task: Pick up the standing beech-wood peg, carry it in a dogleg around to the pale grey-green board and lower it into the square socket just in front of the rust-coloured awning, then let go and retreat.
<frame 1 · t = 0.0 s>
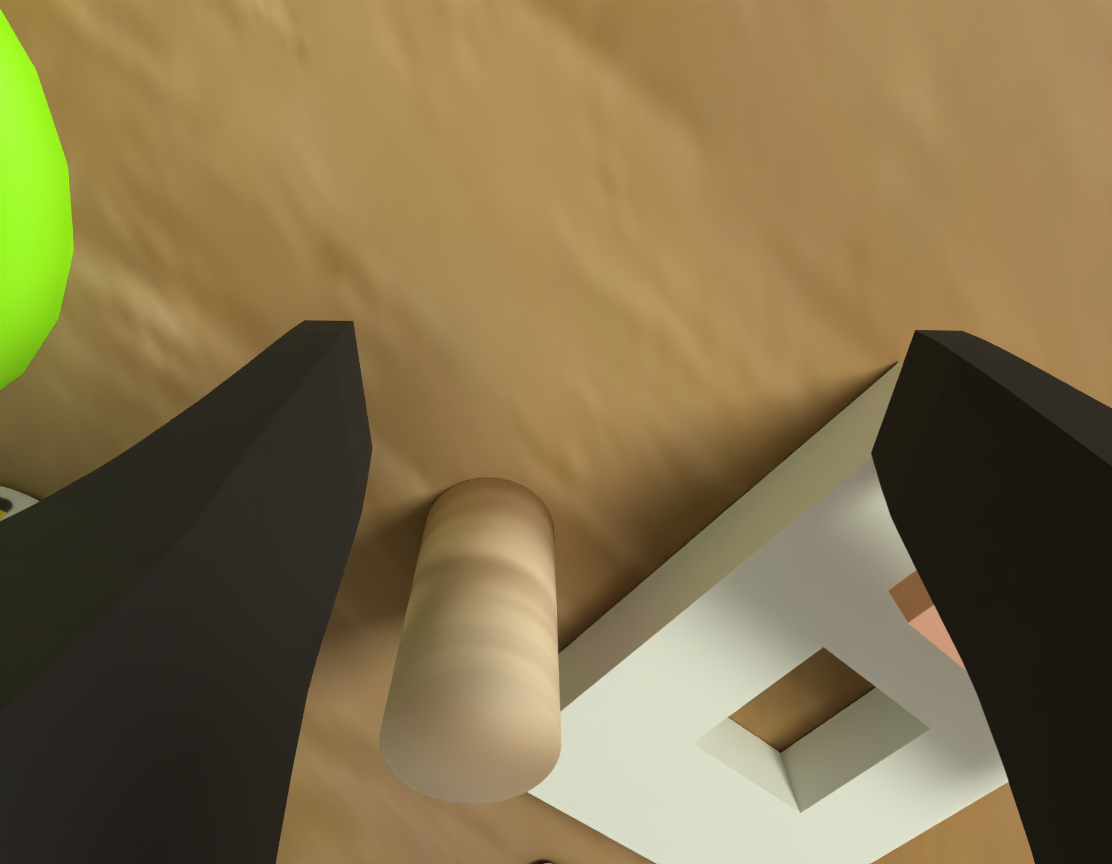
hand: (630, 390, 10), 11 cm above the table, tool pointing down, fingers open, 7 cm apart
supplement bottle: (12, 540, 24), on the table
socket board: (810, 662, 27), on the table
awning: (1008, 518, 24), resting on socket board
peg: (489, 532, 24), on the table
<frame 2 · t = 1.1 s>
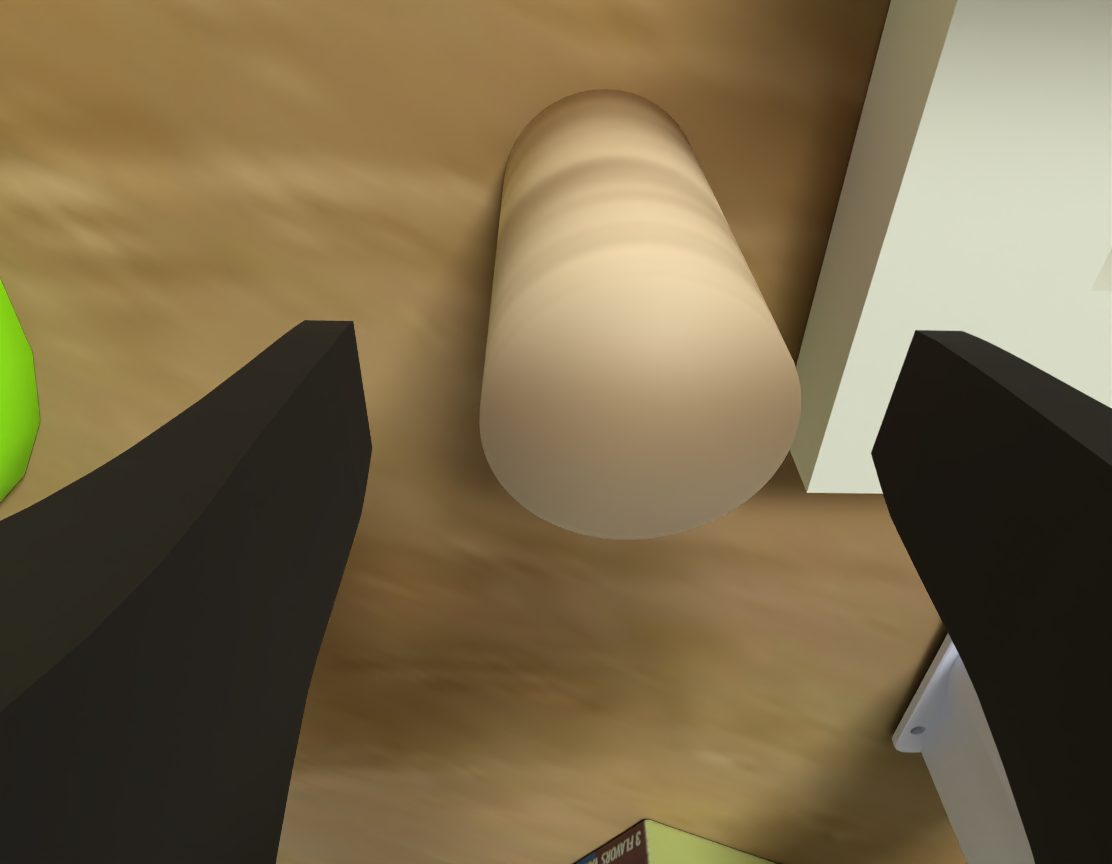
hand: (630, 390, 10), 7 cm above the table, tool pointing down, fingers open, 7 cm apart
peg: (600, 192, 16), on the table
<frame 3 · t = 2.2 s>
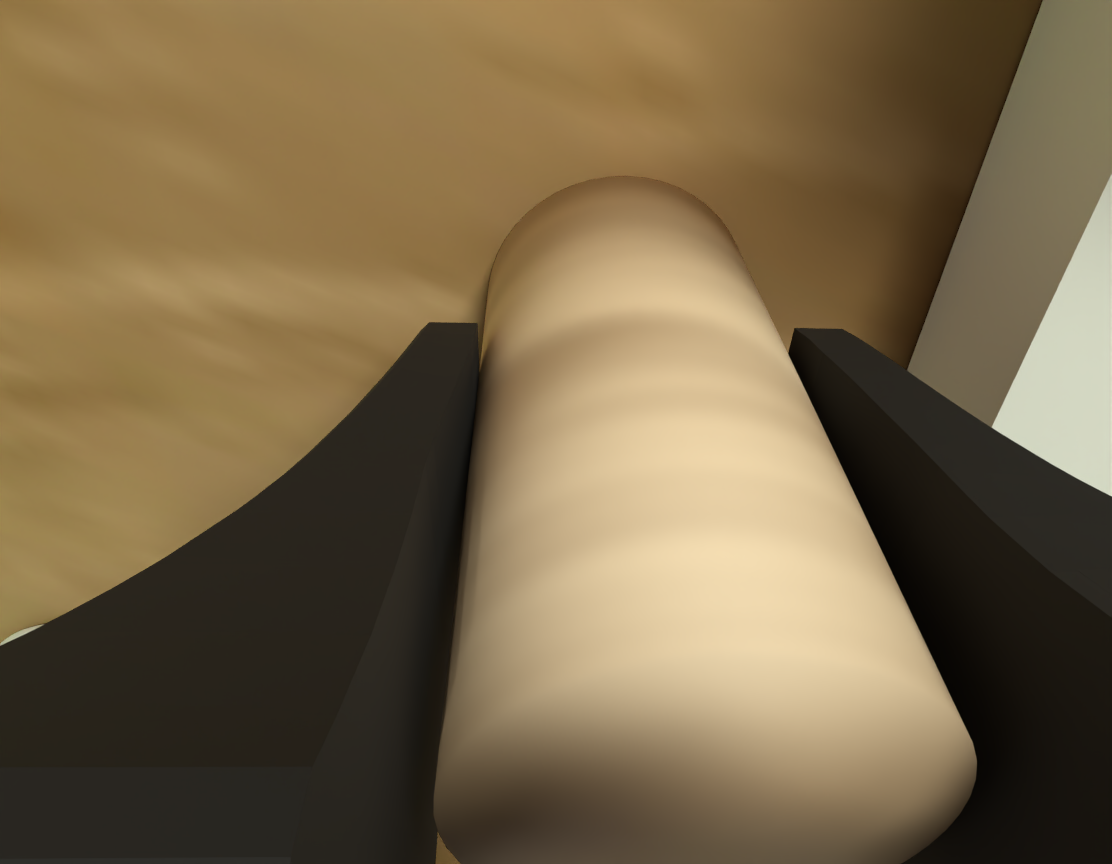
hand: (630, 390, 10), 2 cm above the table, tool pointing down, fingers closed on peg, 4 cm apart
peg: (615, 302, 12), on the table, touching gripper
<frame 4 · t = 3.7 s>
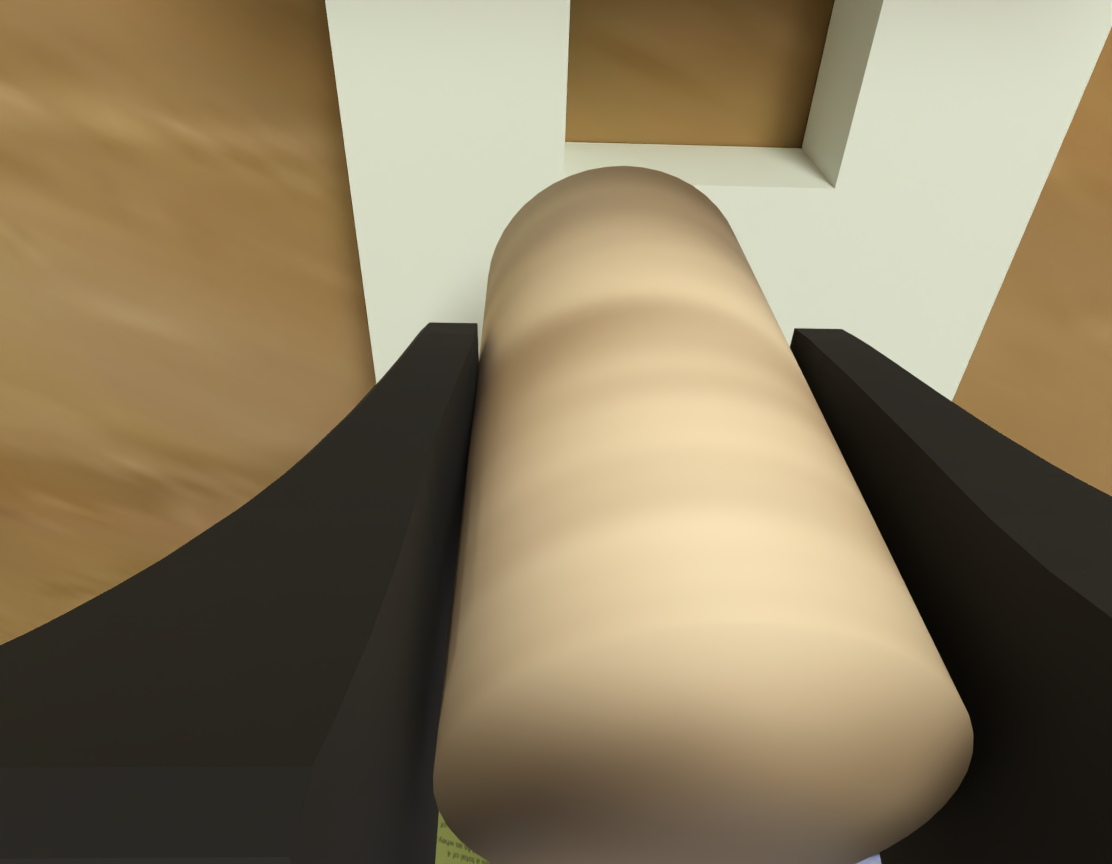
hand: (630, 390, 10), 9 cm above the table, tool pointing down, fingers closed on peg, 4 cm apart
protein box: (490, 837, 39), on the table
peg: (614, 292, 12), point 7 cm above the table, touching gripper
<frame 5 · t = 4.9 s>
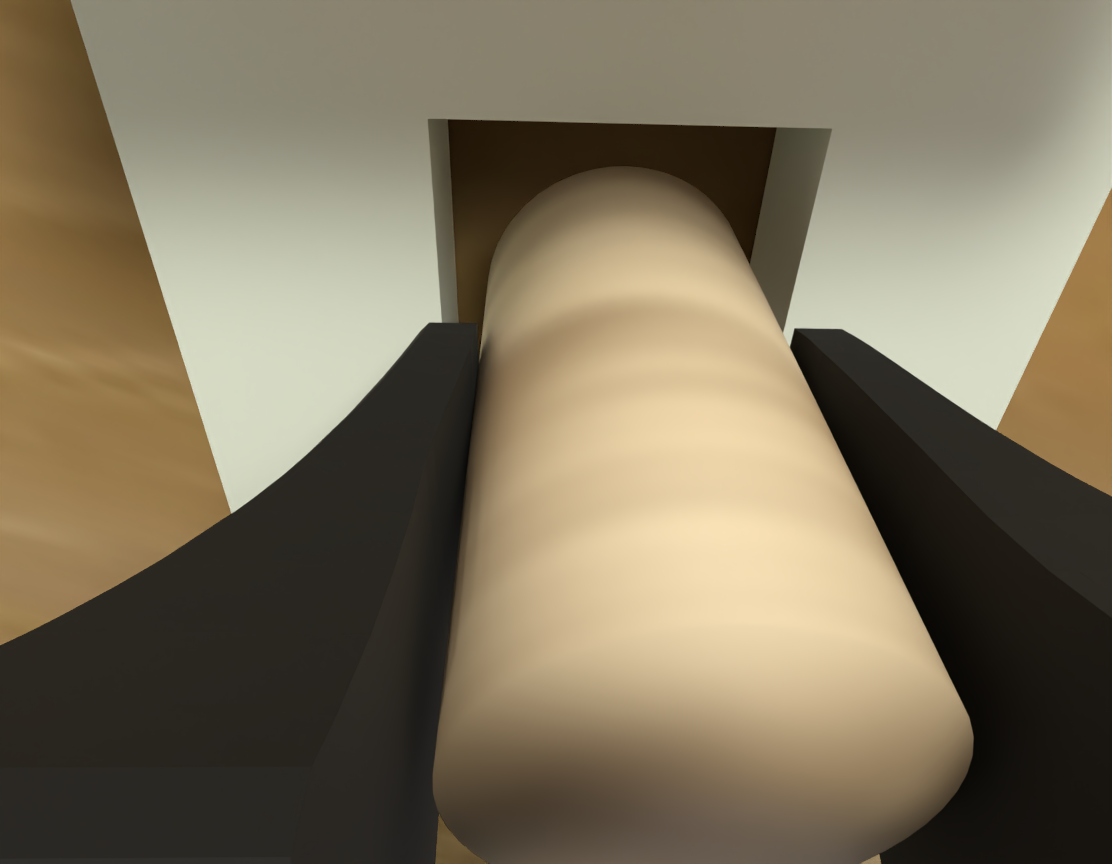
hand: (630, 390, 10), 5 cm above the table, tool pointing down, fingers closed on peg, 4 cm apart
socket board: (609, 184, 14), on the table
peg: (615, 293, 12), point 2 cm above the table, touching gripper
when the fingers open (3 cm above the table, at t = 5.6 s): peg stays where it is, resting in socket board.
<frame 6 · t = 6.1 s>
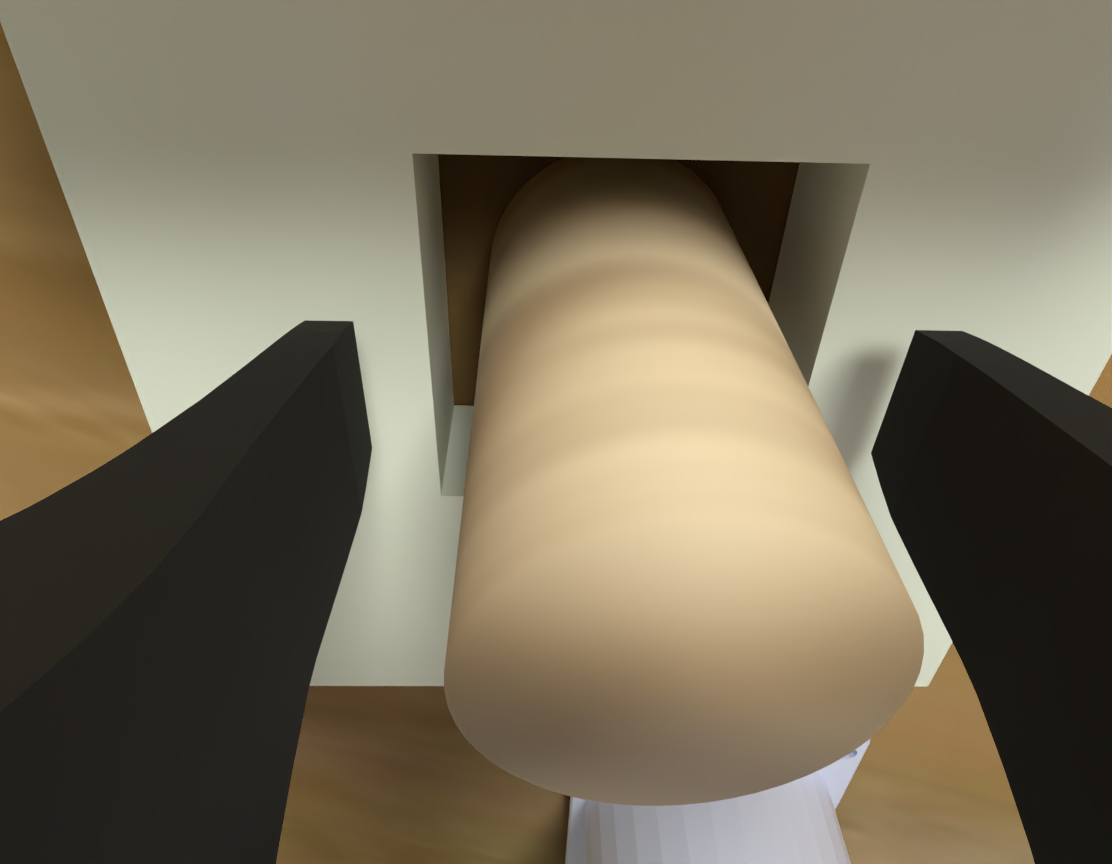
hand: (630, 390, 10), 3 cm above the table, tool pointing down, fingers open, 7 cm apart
socket board: (615, 216, 12), on the table
peg: (610, 268, 13), resting in socket board
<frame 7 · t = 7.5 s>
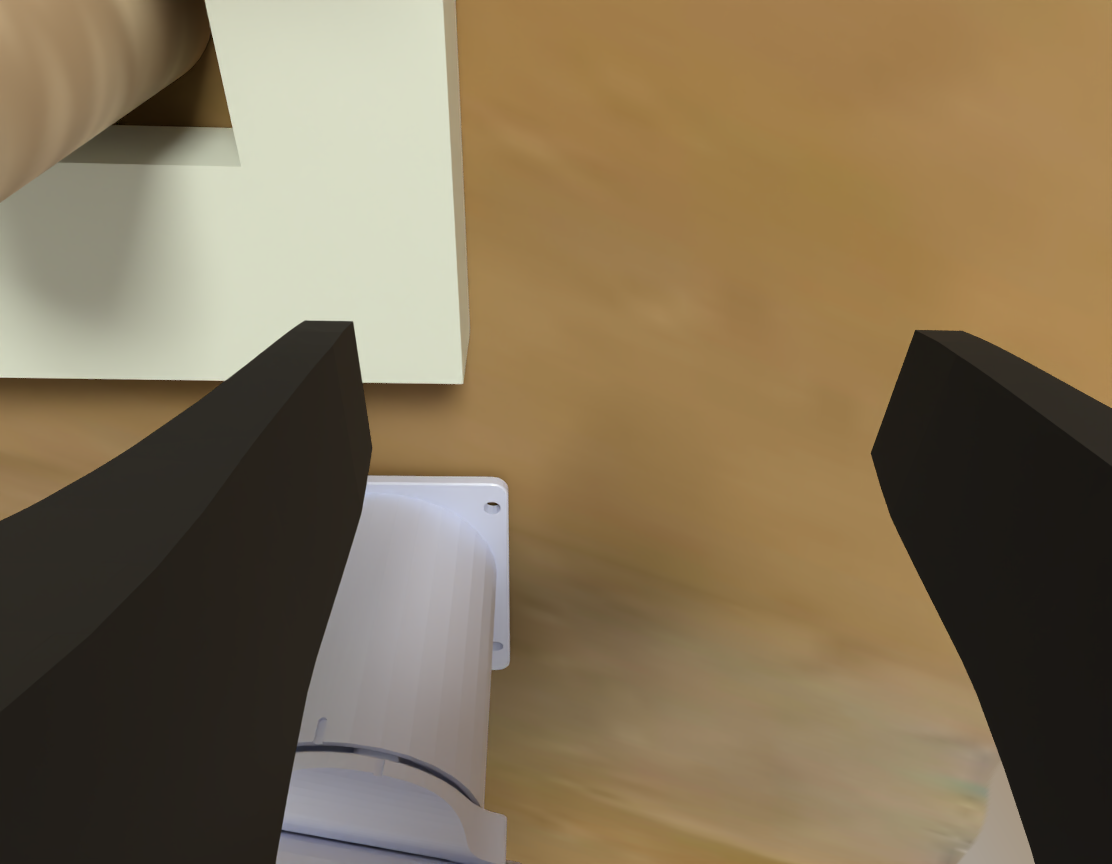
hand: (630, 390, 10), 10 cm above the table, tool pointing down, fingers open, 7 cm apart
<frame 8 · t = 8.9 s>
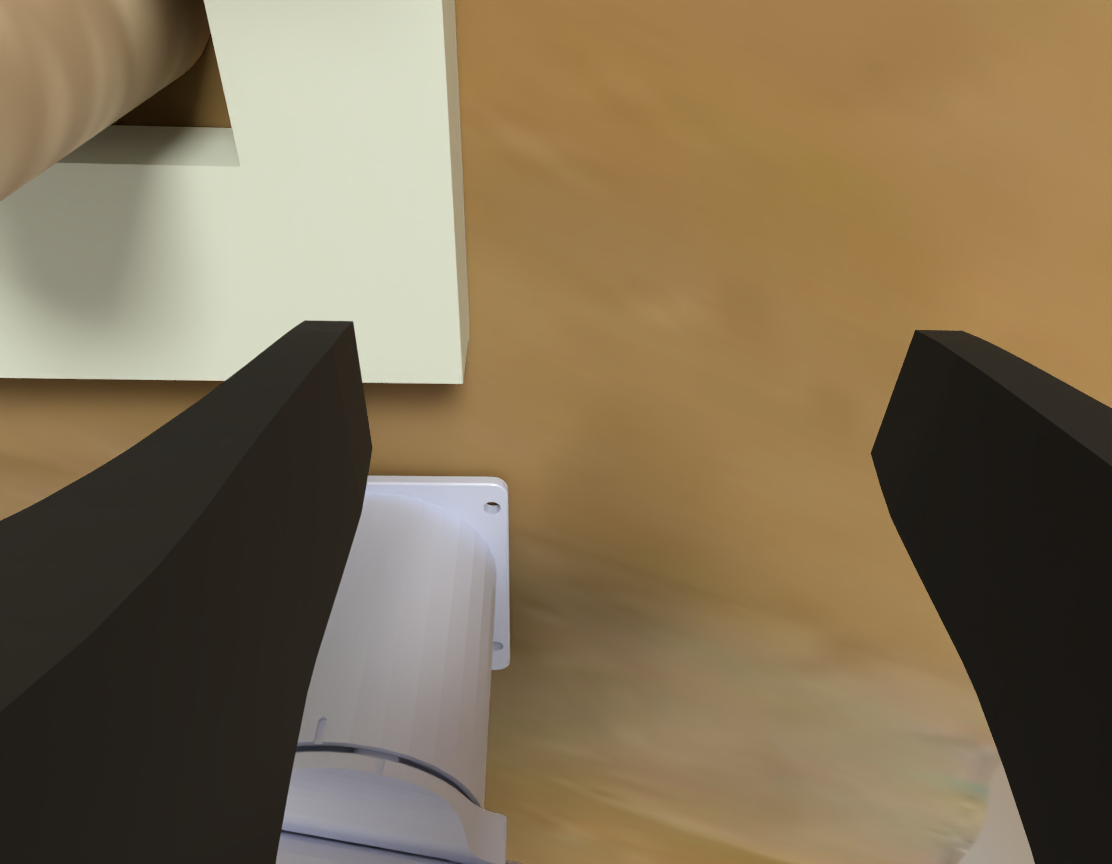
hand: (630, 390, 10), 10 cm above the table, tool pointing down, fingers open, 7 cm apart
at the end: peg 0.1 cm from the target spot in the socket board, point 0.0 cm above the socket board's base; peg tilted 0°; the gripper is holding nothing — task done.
